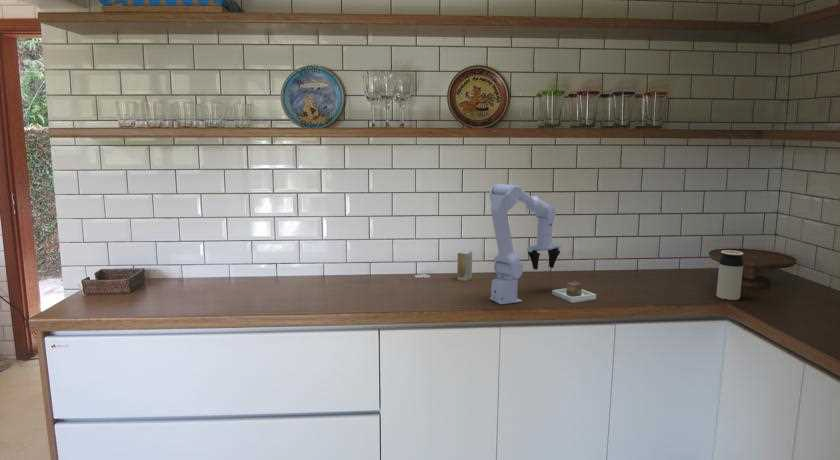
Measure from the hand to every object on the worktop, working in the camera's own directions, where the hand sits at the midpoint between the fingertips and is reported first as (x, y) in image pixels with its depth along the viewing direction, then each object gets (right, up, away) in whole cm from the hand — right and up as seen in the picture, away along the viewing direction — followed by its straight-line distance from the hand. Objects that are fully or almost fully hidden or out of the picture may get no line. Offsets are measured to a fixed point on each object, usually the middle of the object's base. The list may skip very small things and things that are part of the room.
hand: (543, 268), depth 220 cm
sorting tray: (+10, -11, -7) cm, 16 cm away
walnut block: (+10, -10, -7) cm, 16 cm away
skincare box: (-30, -6, +20) cm, 37 cm away
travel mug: (+70, -11, -7) cm, 71 cm away
